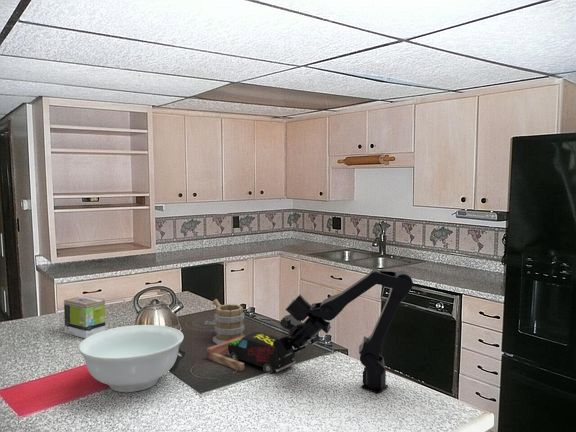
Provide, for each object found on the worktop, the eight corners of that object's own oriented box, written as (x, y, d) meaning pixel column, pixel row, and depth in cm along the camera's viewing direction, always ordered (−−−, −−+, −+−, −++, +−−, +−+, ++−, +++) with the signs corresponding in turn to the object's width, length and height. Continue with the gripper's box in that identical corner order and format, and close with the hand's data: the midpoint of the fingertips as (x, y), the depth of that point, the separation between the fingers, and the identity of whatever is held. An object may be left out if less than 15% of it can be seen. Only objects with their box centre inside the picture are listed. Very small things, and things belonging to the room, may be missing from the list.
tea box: (106, 333, 205) (105, 299, 204) (85, 339, 196) (84, 304, 195) (84, 327, 213) (84, 294, 212) (63, 333, 204) (62, 299, 203)
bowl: (79, 371, 165) (78, 330, 163) (174, 358, 177) (174, 319, 176) (79, 414, 135) (78, 364, 134) (193, 394, 148) (193, 348, 147)
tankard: (250, 342, 195) (250, 306, 194) (222, 348, 188) (222, 310, 187) (228, 329, 211) (228, 295, 210) (201, 334, 204) (201, 299, 203)
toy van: (246, 351, 185) (246, 325, 184) (296, 367, 170) (296, 339, 169) (226, 359, 177) (226, 332, 176) (277, 376, 162) (277, 348, 161)
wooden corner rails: (275, 356, 179) (275, 346, 179) (241, 371, 165) (241, 360, 165) (241, 345, 191) (241, 335, 190) (206, 358, 177) (206, 348, 177)
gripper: (312, 303, 167) (287, 327, 175) (277, 314, 152) (252, 340, 160) (330, 330, 162) (304, 353, 170) (296, 344, 148) (269, 369, 156)
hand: (283, 353), depth 164 cm, fingers closed, pressing on toy van
